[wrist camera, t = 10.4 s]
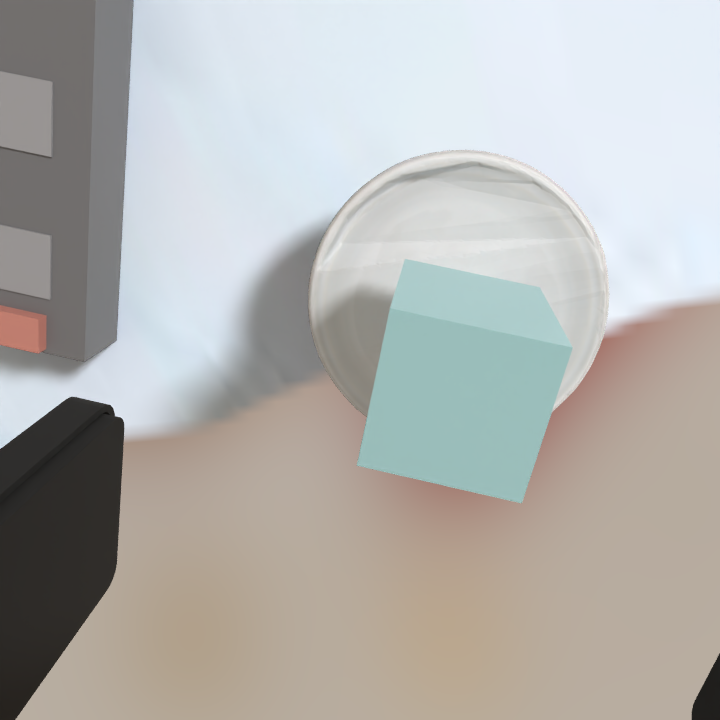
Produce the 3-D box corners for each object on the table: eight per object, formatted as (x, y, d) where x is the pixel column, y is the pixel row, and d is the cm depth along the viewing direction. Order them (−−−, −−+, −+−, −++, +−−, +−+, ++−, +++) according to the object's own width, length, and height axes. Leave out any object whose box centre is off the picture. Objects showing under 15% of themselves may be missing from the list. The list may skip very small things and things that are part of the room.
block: (408, 247, 23) (390, 308, 16) (532, 273, 23) (572, 347, 16) (383, 361, 25) (357, 465, 17) (499, 387, 25) (522, 503, 17)
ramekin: (482, 86, 26) (490, 78, 21) (635, 300, 28) (675, 339, 23) (279, 257, 29) (245, 285, 24) (429, 436, 32) (425, 494, 27)
